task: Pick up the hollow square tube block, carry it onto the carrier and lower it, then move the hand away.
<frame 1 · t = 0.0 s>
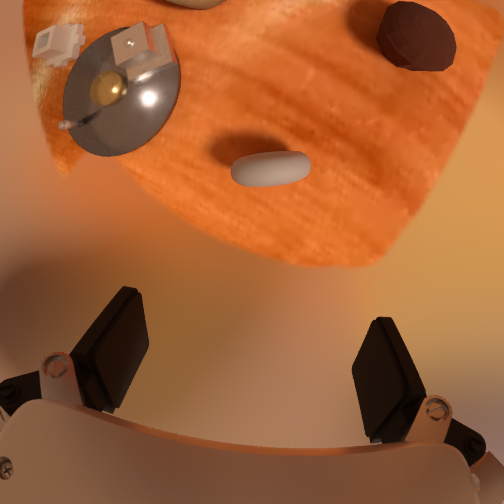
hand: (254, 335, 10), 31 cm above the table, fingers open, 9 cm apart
donut: (270, 162, 38), on the table
muffin: (402, 45, 28), on the table
carrier: (116, 89, 34), on the table
hollow square tube block: (67, 46, 29), on the table
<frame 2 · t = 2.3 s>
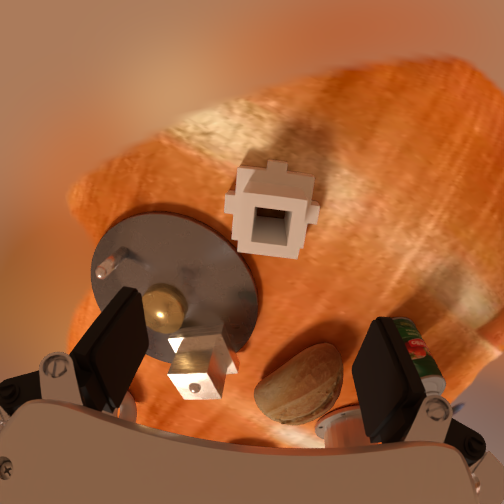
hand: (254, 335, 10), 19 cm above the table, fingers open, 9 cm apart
bread roll: (298, 368, 37), on the table
donut: (128, 392, 44), on the table
canned tomato: (390, 338, 34), on the table
carrier: (169, 297, 33), on the table
hollow square tube block: (272, 203, 27), on the table
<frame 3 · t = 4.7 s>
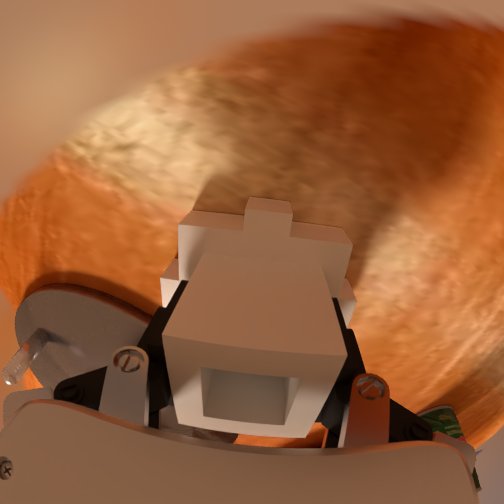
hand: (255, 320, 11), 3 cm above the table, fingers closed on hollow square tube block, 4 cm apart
canned tomato: (420, 424, 20), on the table
carrier: (116, 390, 20), on the table
hollow square tube block: (259, 284, 14), on the table, touching gripper
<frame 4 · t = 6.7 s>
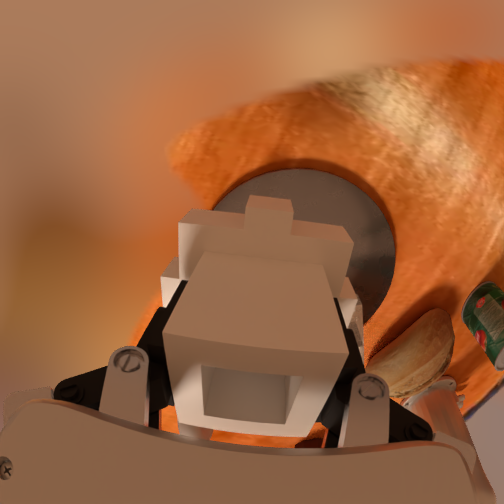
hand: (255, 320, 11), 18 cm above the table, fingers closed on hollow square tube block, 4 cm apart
bread roll: (404, 340, 34), on the table
donut: (203, 393, 41), on the table
canned tomato: (479, 302, 30), on the table
muffin: (313, 445, 48), on the table
carrier: (296, 270, 30), on the table
hollow square tube block: (259, 283, 14), point 15 cm above the table, touching gripper
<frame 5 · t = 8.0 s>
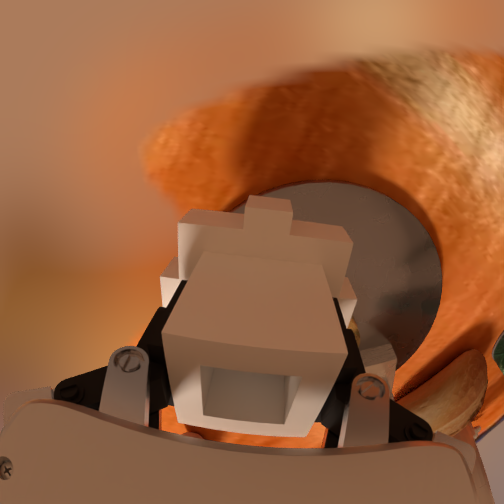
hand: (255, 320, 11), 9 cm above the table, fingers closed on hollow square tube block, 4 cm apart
bread roll: (430, 382, 26), on the table
carrier: (317, 316, 22), on the table
hollow square tube block: (259, 283, 14), point 6 cm above the table, touching gripper
when the fingers open (6 cm above the table, at t = 8.9 s): hollow square tube block drops 2 cm, resting on carrier.
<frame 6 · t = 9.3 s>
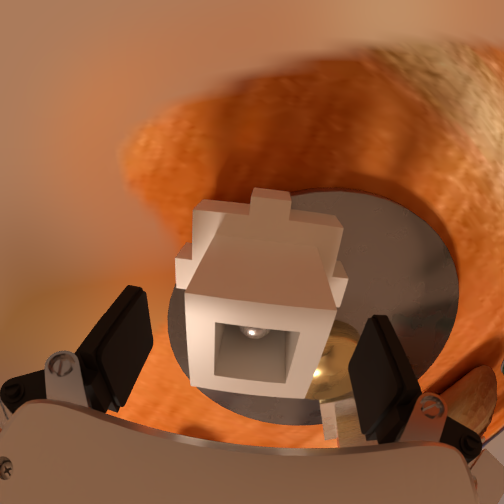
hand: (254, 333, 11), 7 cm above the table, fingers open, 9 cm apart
bread roll: (437, 398, 23), on the table
carrier: (321, 339, 19), on the table
hollow square tube block: (261, 266, 16), point 1 cm above the table, touching carrier
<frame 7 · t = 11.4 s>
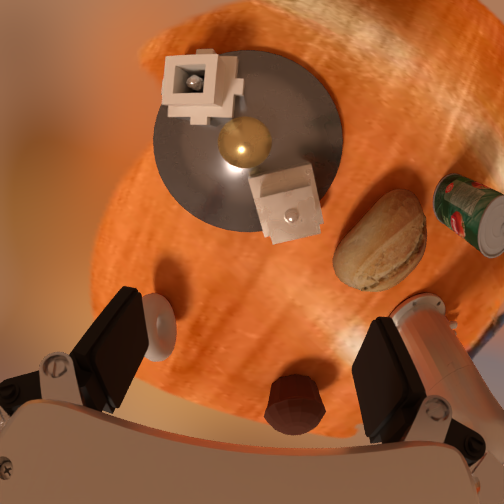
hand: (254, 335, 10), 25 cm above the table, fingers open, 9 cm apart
bread roll: (373, 232, 35), on the table
donut: (166, 306, 41), on the table
canned tomato: (451, 199, 32), on the table
muffin: (293, 386, 49), on the table
carrier: (246, 140, 30), on the table
hollow square tube block: (204, 87, 26), point 1 cm above the table, touching carrier
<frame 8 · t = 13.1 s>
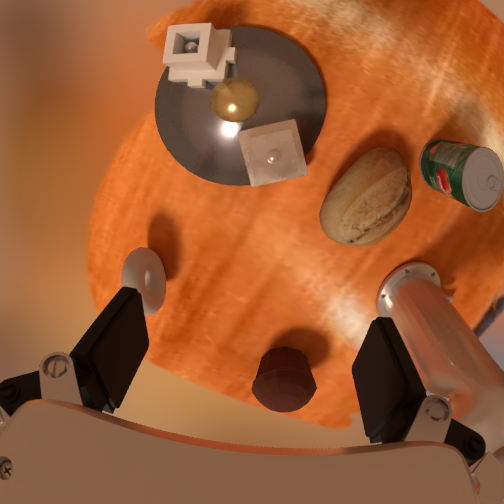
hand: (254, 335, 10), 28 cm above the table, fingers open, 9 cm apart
bread roll: (360, 192, 36), on the table
donut: (157, 265, 43), on the table
canned tomato: (439, 164, 32), on the table
muffin: (283, 362, 50), on the table
carrier: (238, 102, 32), on the table
hollow square tube block: (202, 57, 28), point 1 cm above the table, touching carrier
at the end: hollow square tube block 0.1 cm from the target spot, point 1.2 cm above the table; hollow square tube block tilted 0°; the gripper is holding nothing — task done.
